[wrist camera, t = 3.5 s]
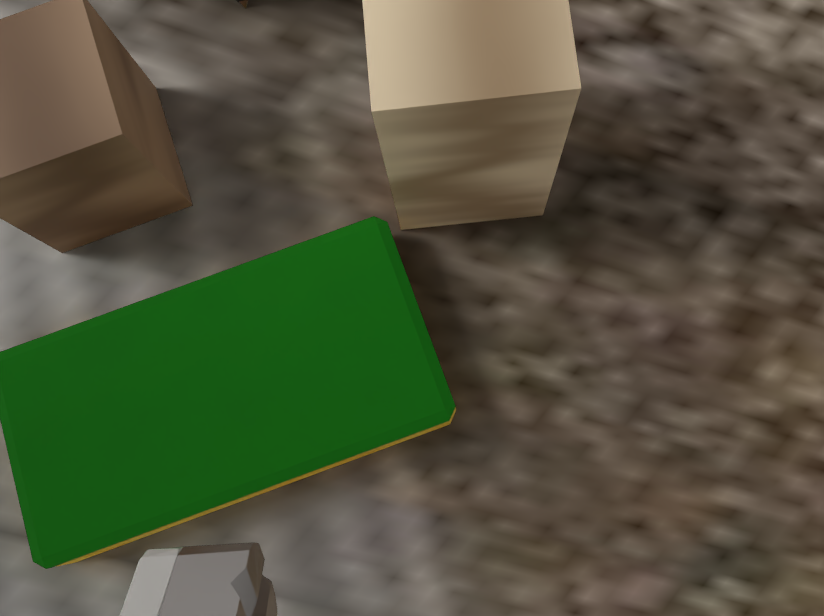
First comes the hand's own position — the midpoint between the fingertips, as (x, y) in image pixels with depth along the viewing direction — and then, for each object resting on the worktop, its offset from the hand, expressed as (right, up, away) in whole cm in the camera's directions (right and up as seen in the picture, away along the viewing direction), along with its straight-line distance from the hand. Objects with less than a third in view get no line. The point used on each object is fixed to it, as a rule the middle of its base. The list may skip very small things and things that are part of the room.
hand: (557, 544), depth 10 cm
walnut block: (-13, +8, +18) cm, 24 cm away
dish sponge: (-8, 0, +17) cm, 18 cm away
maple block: (0, +9, +17) cm, 19 cm away
